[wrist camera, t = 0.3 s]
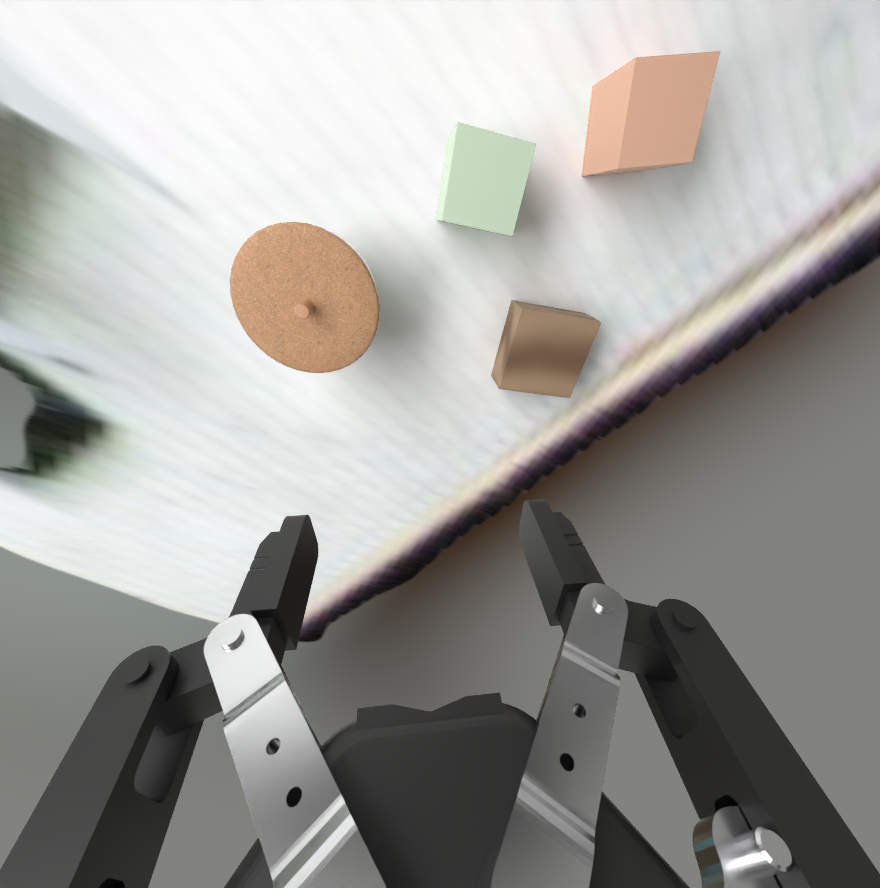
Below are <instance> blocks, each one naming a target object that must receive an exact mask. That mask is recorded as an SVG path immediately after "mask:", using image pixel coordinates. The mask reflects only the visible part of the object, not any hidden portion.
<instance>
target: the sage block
mask: <svg viewBox="0 0 880 888" xmlns="http://www.w3.org/2000/svg"><path fill="white" fill-rule="evenodd" d="M535 147H536V144H535V143H531V142H528V141H524V140H521V139H517V138H513V137H510V136H506V135H503V134H499V133H495V132H492V131H488V130H485V129H481V128H477V127H474V126H470V125H467V124H463V123H459V122H458V123H457V124H456V126H455V128H454V129H453V131H452V132H451V134H450V136H449V137H448V140H447V146H446V153H445V160H444V166H443V173H442V180H441V186H440V193H439V199H438V206H437V213H436V219H435V220H440V221H444V222H449V223H453V224H458V225H462V226H467V227H471V228H476V229H480V230H484V231H489V232H493V233H498V234H503V235H508V236H513V233H514V229H515V225H516V221H517V217H518V213H519V209H520V205H521V201H522V197H523V194H524V190H525V186H526V182H527V178H528V174H529V170H530V166H531V162H532V159H533V155H534V151H535Z"/></svg>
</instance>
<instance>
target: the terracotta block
mask: <svg viewBox="0 0 880 888" xmlns="http://www.w3.org/2000/svg"><path fill="white" fill-rule="evenodd" d="M719 54H720V51H716V52H703V53H690V54H677V55H663V56H650V57H637V58H635V59H633V60H632V61H630V62H629V63H627V64H626V65H624V66H623V67H621V68H620V69H618V70H617V71H615V72H613V73H612V74H610V75H609V76H607V77H606V78H604V79H603V80H601V81H600V82H598V83H597V84H595V85H594V86H592V94H591V103H590V111H589V119H588V128H587V136H586V144H585V153H584V161H583V170H582V176H590V175H601V174H612V173H624V172H635V171H645V170H651V169H656V168H662V167H667V166H673V165H679V164H684V163H690V162H692V160H693V156H694V152H695V148H696V144H697V141H698V137H699V133H700V129H701V125H702V121H703V117H704V113H705V109H706V105H707V101H708V97H709V93H710V90H711V86H712V82H713V78H714V74H715V70H716V66H717V62H718V58H719Z"/></svg>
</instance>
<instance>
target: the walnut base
mask: <svg viewBox="0 0 880 888" xmlns="http://www.w3.org/2000/svg"><path fill="white" fill-rule="evenodd" d="M600 324H601V322H599V321H598V320H596V319H594V318H592V317H590V316H588V315H586V314H585V313H581V312H575V311H569V310H564V309H558V308H552V307H547V306H541V305H535V304H530V303H524V302H518V301H513V300H511V304H510V307H509V311H508V315H507V319H506V322H505V326H504V330H503V333H502V337H501V341H500V345H499V348H498V352H497V356H496V359H495V363H494V367H493V371H492V374H491V375H492V377H493V379H494V381H495V383H496V384H497V386H498V388H499V389H504V390H512V391H520V392H527V393H535V394H543V395H551V396H558V397H566V398H570V396H571V394H572V391H573V389H574V387H575V384H576V382H577V379H578V377H579V375H580V372H581V370H582V367H583V365H584V362H585V360H586V358H587V355H588V353H589V350H590V348H591V345H592V343H593V341H594V338H595V336H596V333H597V331H598V329H599V326H600Z"/></svg>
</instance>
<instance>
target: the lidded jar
mask: <svg viewBox="0 0 880 888" xmlns="http://www.w3.org/2000/svg"><path fill="white" fill-rule="evenodd" d="M230 292H231V298H232V303H233V307H234V310H235V312H236V315H237V318H238V320H239V321H240V323H241V325H242V327H243V329H244V330H245V332H246V333H247V334H248V336H249V337H250V339H251V340H252V341H253V342H254V343H255V344H256V345H257V346H258V347H259V348H260V349H261V350H262V351H263V352H265V353H266V354H267V355H268V356H270V357H271V358H273V359H274V360H276V361H277V362H279V363H281V364H283V365H285V366H287V367H290V368H293V369H296V370H299V371H304V372H311V373H324V372H331V371H336V370H339V369H342V368H344V367H346V366H348V365H350V364H352V363H353V362H355V361H356V360H357V359H358V358H359V357H361V356H362V355H363V354H364V352H365V351H366V350H367V349H368V347H369V346H370V344H371V342H372V340H373V338H374V335H375V332H376V330H377V326H378V320H379V299H378V292H377V287H376V283H375V280H374V277H373V275H372V273H371V270H370V268H369V266H368V265H367V263H366V262H365V260H364V258H363V257H362V256H361V255H360V253H359V252H358V251H357V250H356V249H355V248H354V247H353V246H352V245H351V244H350V243H349V242H347V241H346V240H345V239H343V238H342V237H340V236H339V235H337V234H336V233H334V232H331V231H329V230H327V229H325V228H321V227H318V226H315V225H311V224H307V223H298V222H287V223H278V224H275V225H271V226H267V227H265V228H263V229H261V230H259V231H257V232H256V233H255V234H253V235H252V236H251V237H250V238H248V239H247V241H246V242H245V243H244V244H243V245H242V247H241V248H240V250H239V251H238V253H237V255H236V257H235V259H234V263H233V266H232V269H231V277H230Z"/></svg>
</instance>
